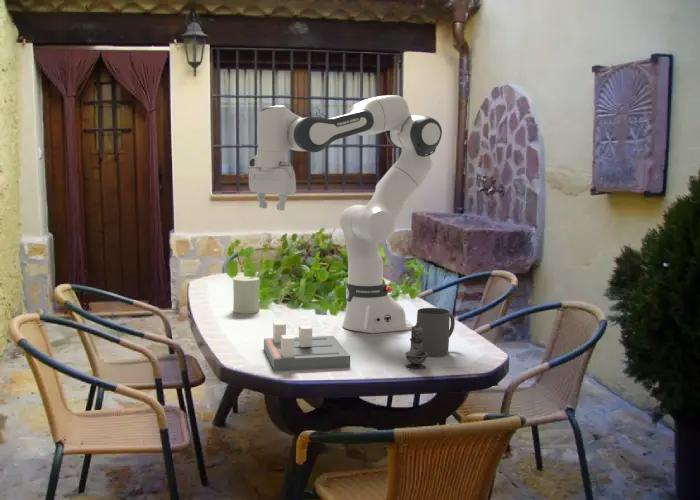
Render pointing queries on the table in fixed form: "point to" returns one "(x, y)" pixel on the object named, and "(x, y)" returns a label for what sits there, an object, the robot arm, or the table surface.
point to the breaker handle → (305, 336)
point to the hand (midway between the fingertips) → (271, 209)
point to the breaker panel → (303, 351)
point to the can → (246, 295)
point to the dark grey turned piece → (416, 350)
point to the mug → (435, 330)
